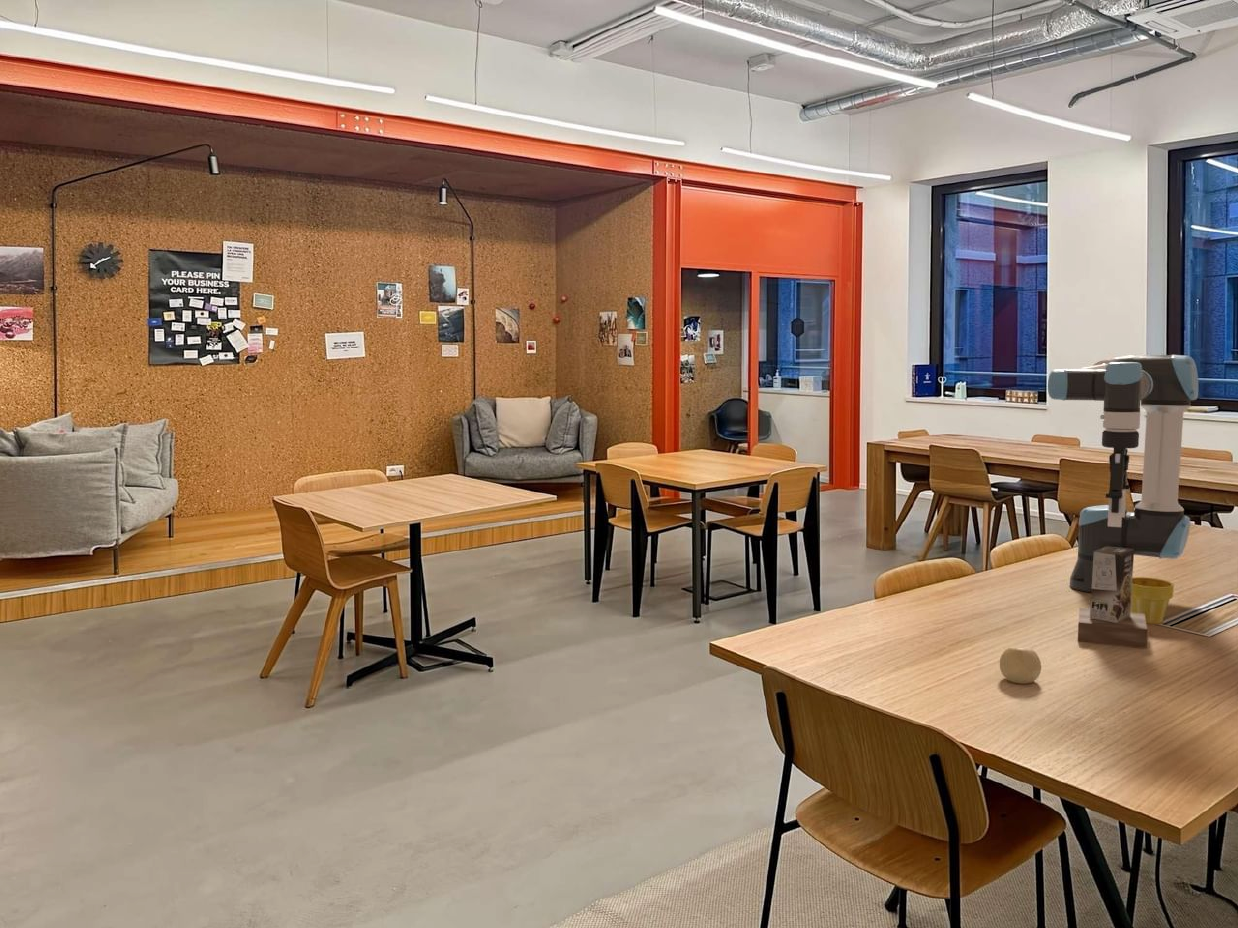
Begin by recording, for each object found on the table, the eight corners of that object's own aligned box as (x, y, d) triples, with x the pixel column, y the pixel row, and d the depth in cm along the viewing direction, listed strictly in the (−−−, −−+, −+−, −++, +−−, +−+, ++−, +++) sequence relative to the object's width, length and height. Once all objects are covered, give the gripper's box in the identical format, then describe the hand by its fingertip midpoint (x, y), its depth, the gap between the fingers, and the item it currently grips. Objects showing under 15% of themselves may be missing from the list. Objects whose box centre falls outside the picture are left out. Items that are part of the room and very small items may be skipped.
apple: (1007, 686, 198) (994, 649, 201) (1006, 690, 205) (994, 654, 208) (1047, 676, 196) (1033, 639, 199) (1045, 681, 204) (1032, 644, 206)
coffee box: (1118, 624, 226) (1121, 554, 224) (1088, 618, 231) (1092, 550, 229) (1131, 616, 233) (1135, 548, 231) (1102, 611, 237) (1106, 544, 235)
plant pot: (1177, 627, 239) (1180, 587, 238) (1131, 625, 241) (1133, 585, 240) (1163, 615, 249) (1165, 577, 248) (1118, 613, 251) (1120, 576, 250)
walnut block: (1078, 627, 241) (1079, 607, 241) (1143, 634, 235) (1144, 613, 234) (1077, 643, 229) (1078, 622, 228) (1146, 650, 223) (1147, 629, 222)
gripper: (1106, 425, 239) (1102, 511, 241) (1098, 434, 217) (1093, 529, 220) (1141, 426, 235) (1137, 514, 238) (1136, 435, 213) (1131, 532, 216)
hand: (1116, 521), depth 229 cm, fingers open, 13 cm apart
